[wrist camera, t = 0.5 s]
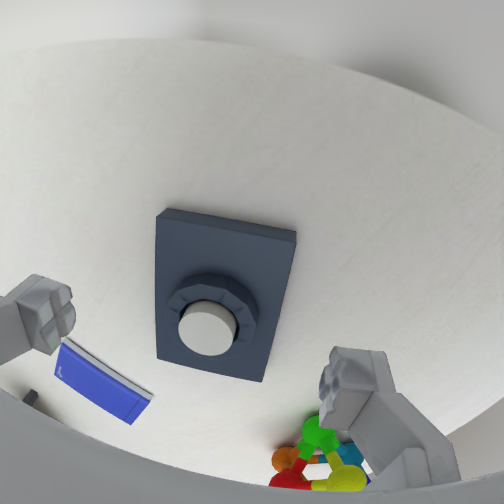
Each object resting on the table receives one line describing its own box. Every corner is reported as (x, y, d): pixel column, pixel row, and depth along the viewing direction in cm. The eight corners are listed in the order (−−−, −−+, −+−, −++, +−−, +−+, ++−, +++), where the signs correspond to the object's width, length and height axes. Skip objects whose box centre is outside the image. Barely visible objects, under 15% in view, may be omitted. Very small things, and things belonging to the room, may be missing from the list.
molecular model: (269, 456, 37) (224, 507, 23) (322, 395, 37) (298, 432, 23) (350, 509, 31) (338, 574, 17) (408, 451, 31) (424, 508, 17)
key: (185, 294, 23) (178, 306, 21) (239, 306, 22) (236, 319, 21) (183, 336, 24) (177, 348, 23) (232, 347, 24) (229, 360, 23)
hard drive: (53, 375, 34) (130, 426, 35) (60, 344, 30) (149, 403, 32) (58, 368, 35) (133, 418, 37) (66, 336, 32) (153, 394, 34)
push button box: (167, 207, 24) (145, 224, 20) (296, 231, 23) (296, 253, 20) (164, 344, 30) (150, 371, 26) (264, 366, 29) (259, 397, 26)
